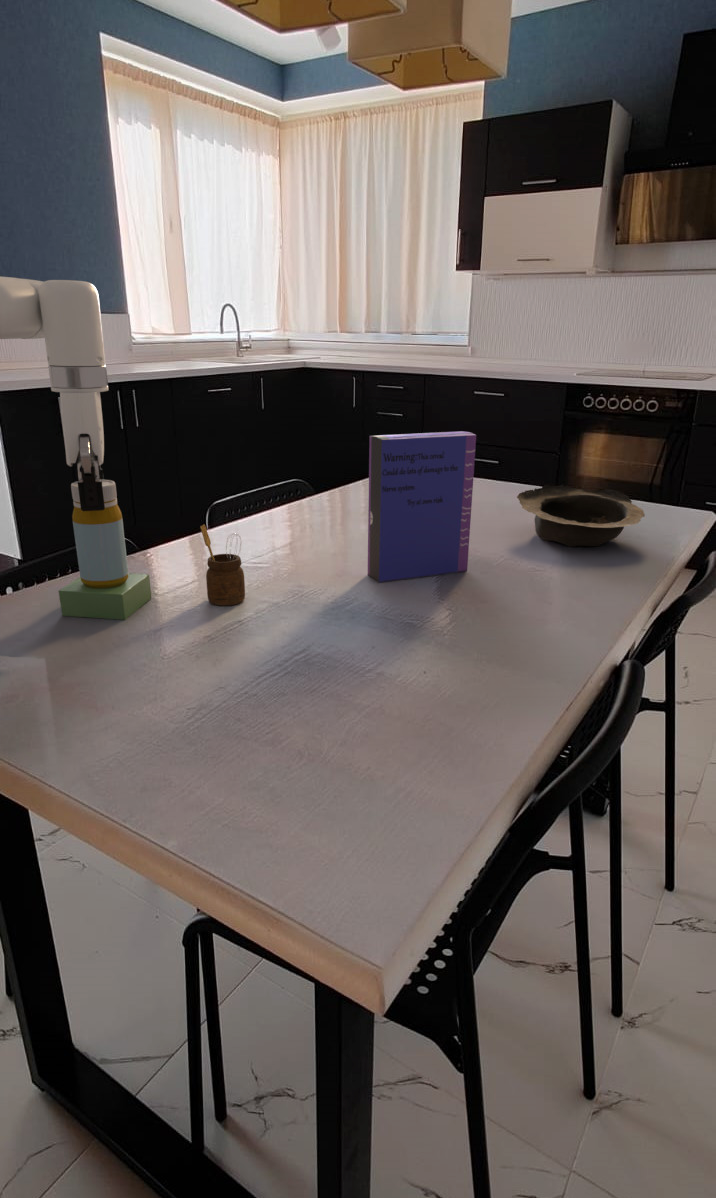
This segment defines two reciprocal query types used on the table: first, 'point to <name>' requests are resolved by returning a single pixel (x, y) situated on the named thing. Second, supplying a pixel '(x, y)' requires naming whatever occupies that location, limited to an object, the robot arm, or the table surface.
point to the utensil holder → (224, 576)
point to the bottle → (100, 540)
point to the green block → (105, 598)
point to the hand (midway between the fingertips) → (93, 502)
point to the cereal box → (419, 504)
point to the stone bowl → (579, 514)
